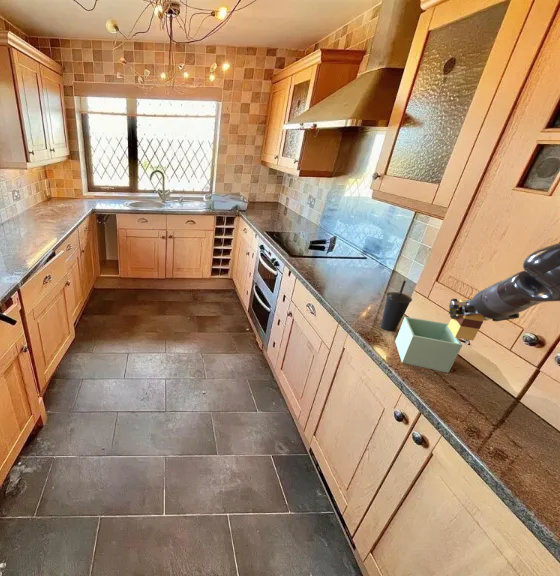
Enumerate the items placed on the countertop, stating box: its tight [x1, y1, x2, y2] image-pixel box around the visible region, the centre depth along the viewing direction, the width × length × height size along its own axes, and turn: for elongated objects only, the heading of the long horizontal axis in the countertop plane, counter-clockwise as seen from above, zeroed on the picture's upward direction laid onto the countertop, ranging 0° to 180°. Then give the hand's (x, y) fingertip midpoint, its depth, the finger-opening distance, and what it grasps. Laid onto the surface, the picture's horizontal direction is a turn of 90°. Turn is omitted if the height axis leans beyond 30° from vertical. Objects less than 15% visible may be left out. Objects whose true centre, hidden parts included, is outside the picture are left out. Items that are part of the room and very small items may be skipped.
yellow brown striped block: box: [448, 299, 485, 341], centre depth 84 cm, size 4×6×9 cm
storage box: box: [394, 316, 463, 374], centre depth 100 cm, size 12×12×11 cm
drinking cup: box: [380, 279, 413, 333], centre depth 112 cm, size 8×8×20 cm
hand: (463, 317), depth 86 cm, fingers closed on yellow brown striped block, 4 cm apart
